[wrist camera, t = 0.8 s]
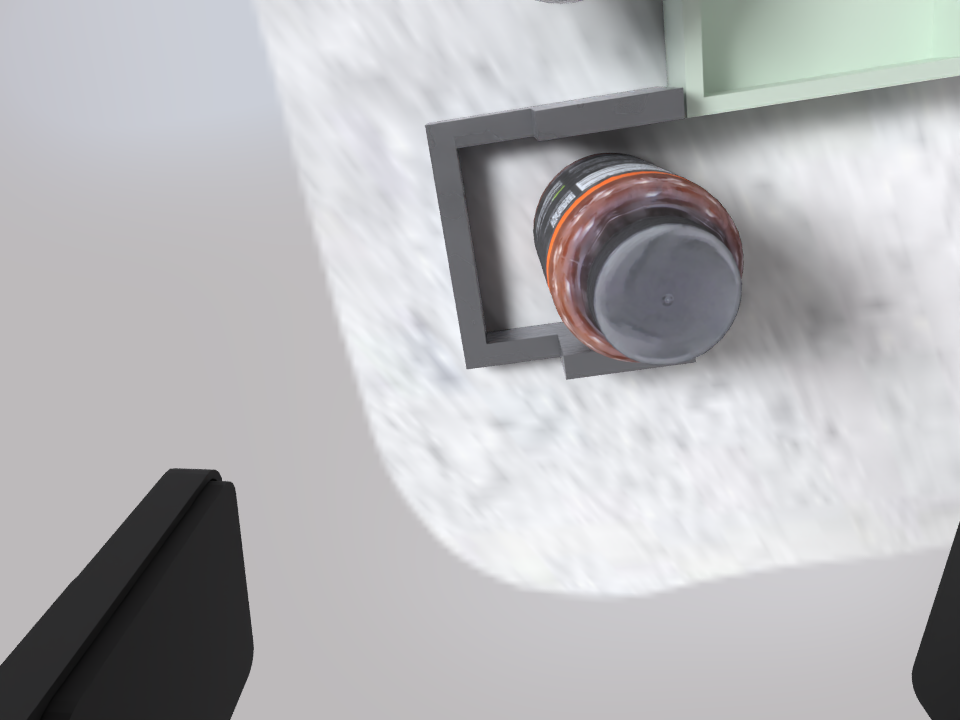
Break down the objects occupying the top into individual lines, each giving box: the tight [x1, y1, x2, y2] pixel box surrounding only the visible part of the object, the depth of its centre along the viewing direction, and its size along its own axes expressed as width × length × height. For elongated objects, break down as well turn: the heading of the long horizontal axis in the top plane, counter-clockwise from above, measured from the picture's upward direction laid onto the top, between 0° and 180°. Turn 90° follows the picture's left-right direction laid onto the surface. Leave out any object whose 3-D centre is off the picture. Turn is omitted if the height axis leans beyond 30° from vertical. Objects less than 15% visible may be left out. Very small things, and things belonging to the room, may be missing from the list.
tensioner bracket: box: [425, 87, 696, 380], centre depth 28 cm, size 9×10×4 cm
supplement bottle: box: [533, 153, 743, 365], centre depth 24 cm, size 6×6×11 cm
